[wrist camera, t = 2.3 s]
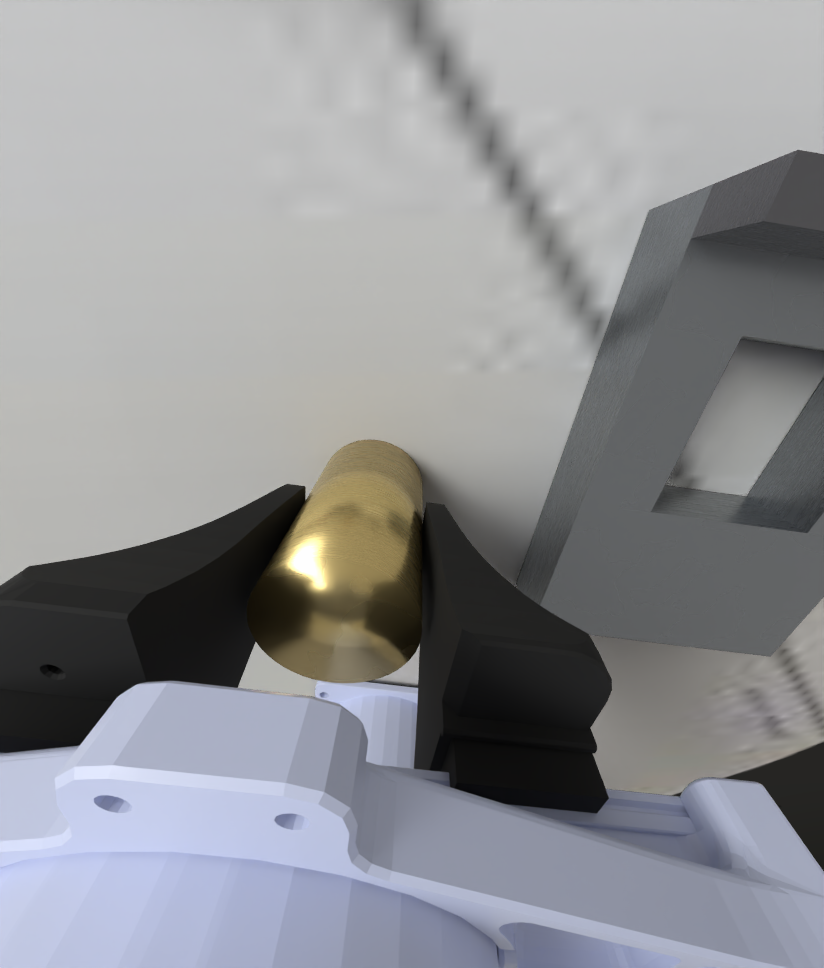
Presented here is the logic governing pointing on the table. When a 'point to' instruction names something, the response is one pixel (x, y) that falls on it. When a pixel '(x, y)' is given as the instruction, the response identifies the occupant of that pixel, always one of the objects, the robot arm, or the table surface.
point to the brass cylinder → (347, 571)
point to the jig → (671, 420)
